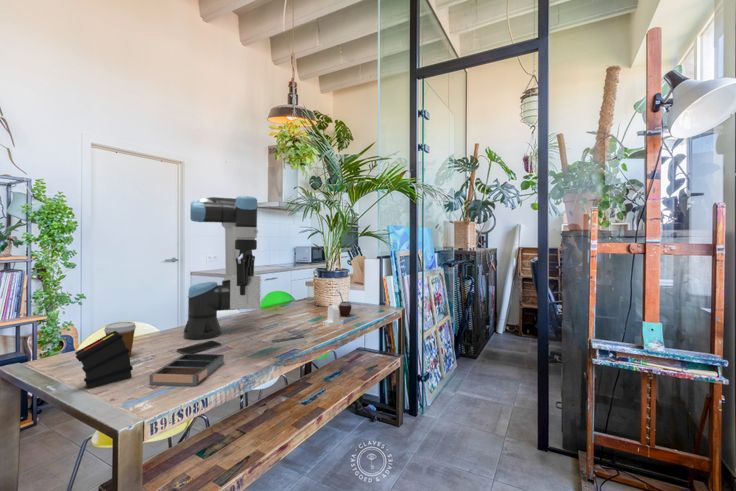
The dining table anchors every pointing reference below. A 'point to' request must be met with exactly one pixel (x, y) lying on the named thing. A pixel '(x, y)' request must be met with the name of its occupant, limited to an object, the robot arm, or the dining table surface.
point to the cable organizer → (333, 317)
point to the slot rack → (187, 370)
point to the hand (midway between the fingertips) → (245, 302)
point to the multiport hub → (287, 341)
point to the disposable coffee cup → (123, 332)
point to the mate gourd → (344, 308)
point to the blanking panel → (253, 293)
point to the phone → (199, 347)
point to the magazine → (105, 360)
